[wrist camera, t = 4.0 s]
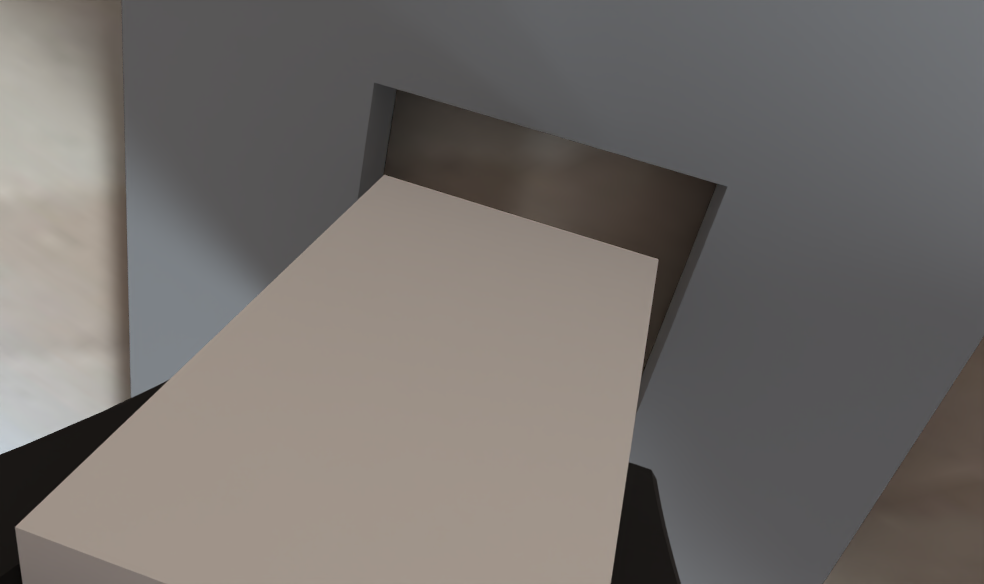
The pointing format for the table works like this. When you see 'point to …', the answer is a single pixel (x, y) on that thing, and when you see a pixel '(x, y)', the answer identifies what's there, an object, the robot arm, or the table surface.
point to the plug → (381, 418)
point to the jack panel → (641, 136)
